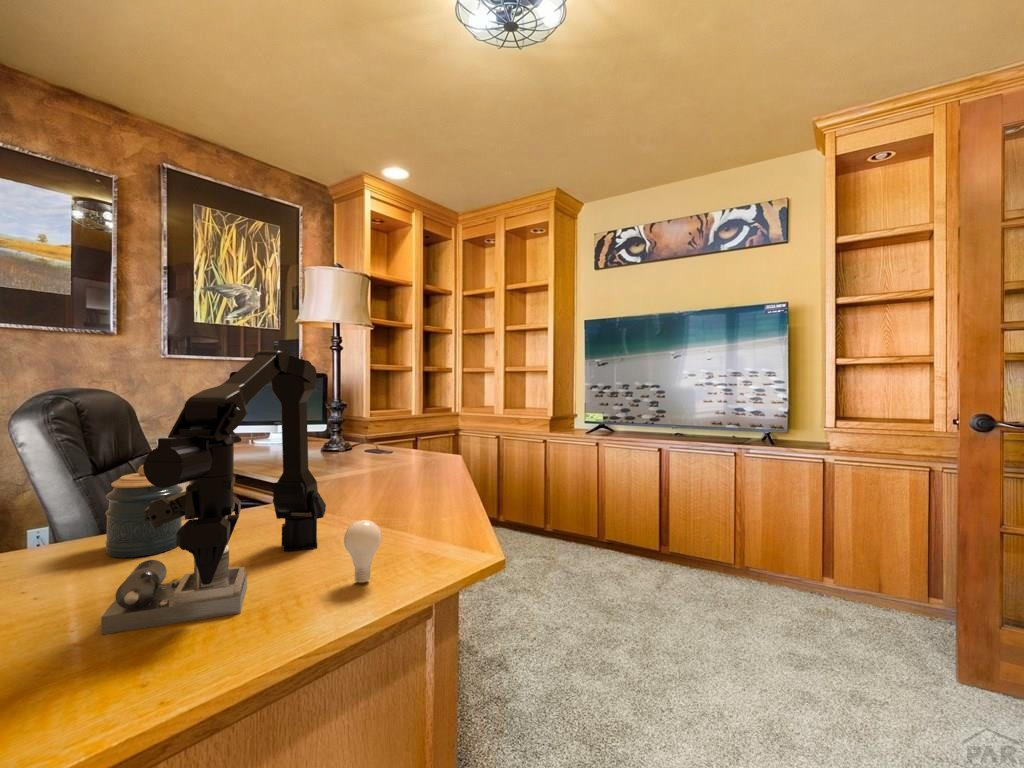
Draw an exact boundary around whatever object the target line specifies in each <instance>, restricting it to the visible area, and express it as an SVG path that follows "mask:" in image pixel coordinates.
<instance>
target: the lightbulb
mask: <svg viewBox="0 0 1024 768" xmlns="http://www.w3.org/2000/svg"><path fill="white" fill-rule="evenodd" d="M381 543H382V531H381V528H380V527H379V526H378V525H377V523H376V522H374V521H372V520H369V519H359V520H357V521H355V522H353V523H352V524H351V525H350V526H348V527H347V530H346V531H345V533H344V535H343V544H344V547H345V550H346V551H347V553H348V554H349V556H350V557H351V559H352V564H353V567H354V581H355V582H357V583H358V584H361V583H363V584H365V583H367V582H368V581H371V566H372V564H373V560H374V556H375V554H376V552H378V550H379V548H380V546H381Z"/></svg>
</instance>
